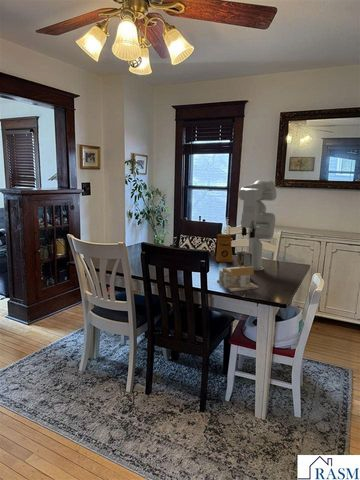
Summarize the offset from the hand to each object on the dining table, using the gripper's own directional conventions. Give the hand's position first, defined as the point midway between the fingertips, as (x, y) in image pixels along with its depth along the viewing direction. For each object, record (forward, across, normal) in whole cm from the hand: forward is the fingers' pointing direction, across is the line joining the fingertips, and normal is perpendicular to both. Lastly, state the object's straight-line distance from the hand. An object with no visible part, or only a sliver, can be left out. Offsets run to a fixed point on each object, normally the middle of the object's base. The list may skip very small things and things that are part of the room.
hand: (248, 236), depth 208 cm
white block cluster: (+28, +8, -11) cm, 31 cm away
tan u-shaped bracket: (+20, +8, -11) cm, 24 cm away
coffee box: (+28, -7, +2) cm, 29 cm away
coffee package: (+28, -47, +8) cm, 56 cm away
